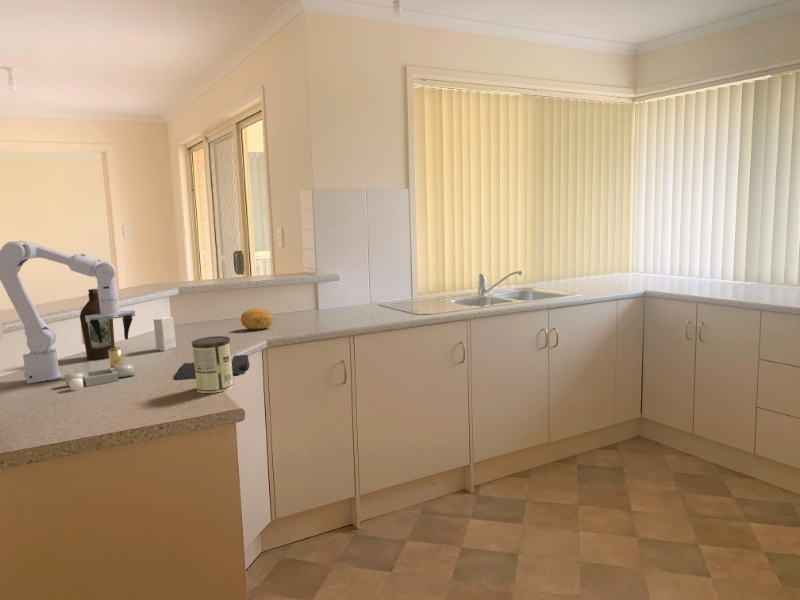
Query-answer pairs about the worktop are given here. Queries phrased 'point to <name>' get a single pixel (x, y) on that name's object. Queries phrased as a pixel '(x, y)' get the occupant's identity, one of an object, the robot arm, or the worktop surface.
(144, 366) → the worktop surface
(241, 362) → the dark slate chunk
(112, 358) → the gold metal cylinder
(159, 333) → the skincare box
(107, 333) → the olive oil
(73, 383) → the pipe cap
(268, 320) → the potato
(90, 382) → the fitting socket
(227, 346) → the coffee can
